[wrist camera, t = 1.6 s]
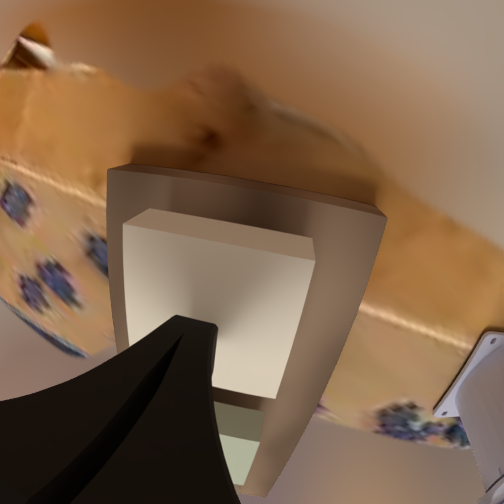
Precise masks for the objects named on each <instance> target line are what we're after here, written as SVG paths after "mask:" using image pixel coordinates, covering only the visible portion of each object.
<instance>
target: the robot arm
mask: <svg viewBox="0 0 504 504" xmlns="http://www.w3.org/2000/svg"><path fill="white" fill-rule="evenodd" d="M217 336H218V327H217V325H216V324H214V323H210V322H205V321H201V320H197V319H193V318H189V317H184V316H180V315H174V316H172V317H171V318H170V319H168V320H167V321H165V322H164V323H163V324H161V325H160V326H159V327H157V328H156V329H154V330H153V331H152V332H150V333H149V334H148V335H146V336H145V337H143V338H142V339H140V340H139V341H137V342H136V343H134V344H133V345H132V346H130V347H129V348H127V349H126V350H124V351H122V352H121V353H119V354H118V355H116V356H114V357H113V358H111V359H109V360H107V361H106V362H104V363H102V364H101V365H99V366H97V367H95V368H93V369H91V370H90V371H88V372H86V373H84V374H82V375H79V376H77V377H75V378H73V379H71V380H69V381H66V382H64V383H61V384H58V385H55V386H53V387H50V388H47V389H44V390H42V391H39V392H36V393H32V394H29V395H25V396H21V397H18V398H13V399H9V400H4V401H0V504H241V503H240V500H239V498H238V495H237V493H236V490H235V488H234V485H233V482H232V478H231V475H230V472H229V469H228V466H227V463H226V459H225V456H224V452H223V448H222V444H221V440H220V436H219V431H218V426H217V421H216V415H215V408H214V400H213V390H212V375H213V371H214V362H215V353H216V344H217ZM433 416H434V417H455V416H460V418H461V421H462V423H463V426H464V429H465V431H466V434H467V437H468V439H469V442H470V445H471V448H472V450H473V454H474V456H475V460H476V463H477V465H478V469H479V472H480V475H481V479H482V482H483V485H484V489H485V492H486V494H485V495H483V496H482V497H481V498H479V499H478V500H477V503H478V504H504V333H503V332H493V331H488V332H486V333H485V334H483V336H482V337H481V339H480V341H479V343H478V344H477V346H476V348H475V350H474V351H473V353H472V355H471V356H470V358H469V360H468V361H467V363H466V365H465V366H464V368H463V369H462V371H461V372H460V374H459V375H458V377H457V378H456V380H455V381H454V383H453V384H452V386H451V387H450V389H449V390H448V392H447V393H446V394H445V396H444V397H443V399H442V400H441V401H440V403H439V404H438V405H437V407H436V408H435V409H434V411H433Z"/></svg>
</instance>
